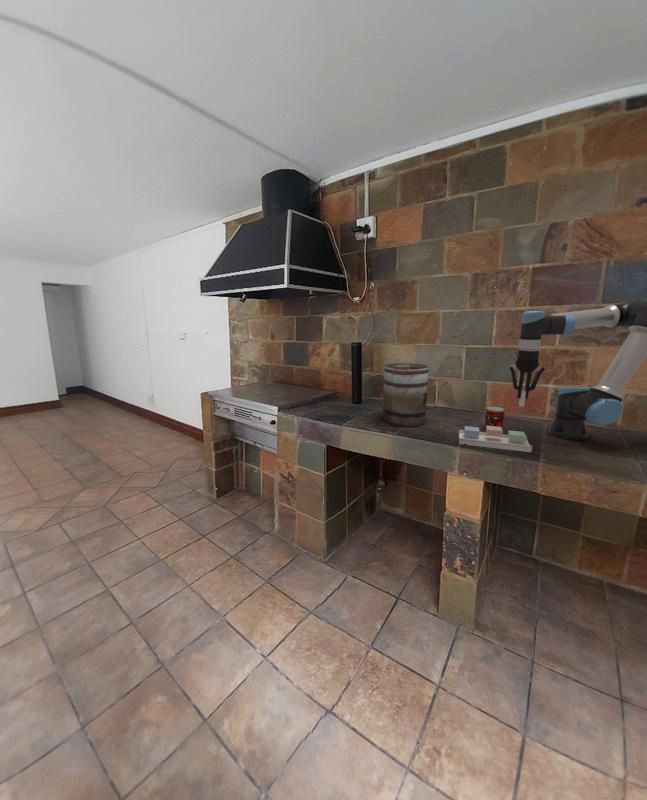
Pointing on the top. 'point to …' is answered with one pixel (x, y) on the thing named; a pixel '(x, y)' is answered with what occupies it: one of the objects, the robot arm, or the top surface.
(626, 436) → the top surface
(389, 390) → the barrel
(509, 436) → the key
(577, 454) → the top surface
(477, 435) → the key
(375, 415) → the top surface
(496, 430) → the key
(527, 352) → the robot arm
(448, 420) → the top surface
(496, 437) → the keypad base
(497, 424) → the canned food
